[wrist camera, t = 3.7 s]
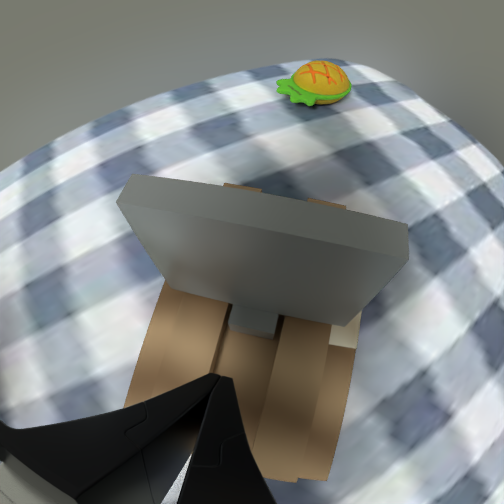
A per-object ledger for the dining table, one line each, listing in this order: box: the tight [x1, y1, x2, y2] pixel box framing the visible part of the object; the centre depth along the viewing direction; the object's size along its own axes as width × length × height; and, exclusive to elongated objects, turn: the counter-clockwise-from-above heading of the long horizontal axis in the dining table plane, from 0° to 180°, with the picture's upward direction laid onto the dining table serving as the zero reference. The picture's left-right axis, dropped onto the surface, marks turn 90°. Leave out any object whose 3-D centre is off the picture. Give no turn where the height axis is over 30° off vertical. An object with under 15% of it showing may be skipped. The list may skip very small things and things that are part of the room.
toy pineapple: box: [276, 61, 351, 106], centre depth 32 cm, size 7×10×5 cm
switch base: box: [124, 183, 362, 483], centre depth 20 cm, size 20×14×3 cm
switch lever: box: [116, 174, 409, 340], centre depth 15 cm, size 4×11×11 cm, turn 76°
